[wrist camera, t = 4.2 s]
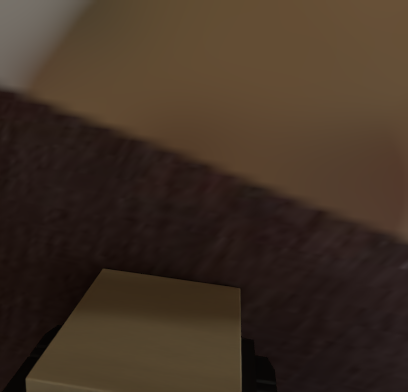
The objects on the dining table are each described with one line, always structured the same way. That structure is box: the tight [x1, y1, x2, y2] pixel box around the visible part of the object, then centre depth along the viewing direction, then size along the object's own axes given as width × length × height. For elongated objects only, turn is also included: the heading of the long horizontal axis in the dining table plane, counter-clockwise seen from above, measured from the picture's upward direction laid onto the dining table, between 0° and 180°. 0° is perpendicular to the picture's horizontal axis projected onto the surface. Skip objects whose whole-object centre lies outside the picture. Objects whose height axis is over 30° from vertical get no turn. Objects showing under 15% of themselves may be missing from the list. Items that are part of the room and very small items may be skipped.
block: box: [26, 269, 242, 392], centre depth 11 cm, size 5×5×5 cm
